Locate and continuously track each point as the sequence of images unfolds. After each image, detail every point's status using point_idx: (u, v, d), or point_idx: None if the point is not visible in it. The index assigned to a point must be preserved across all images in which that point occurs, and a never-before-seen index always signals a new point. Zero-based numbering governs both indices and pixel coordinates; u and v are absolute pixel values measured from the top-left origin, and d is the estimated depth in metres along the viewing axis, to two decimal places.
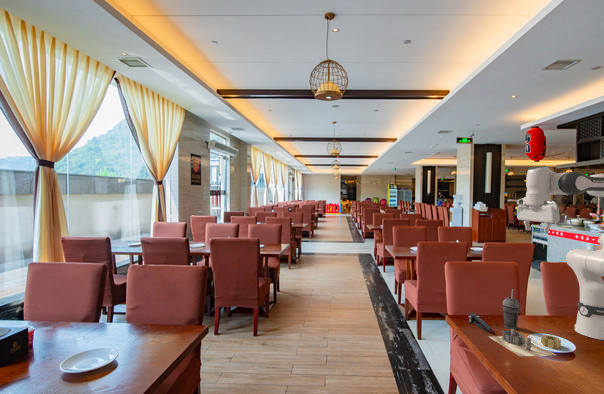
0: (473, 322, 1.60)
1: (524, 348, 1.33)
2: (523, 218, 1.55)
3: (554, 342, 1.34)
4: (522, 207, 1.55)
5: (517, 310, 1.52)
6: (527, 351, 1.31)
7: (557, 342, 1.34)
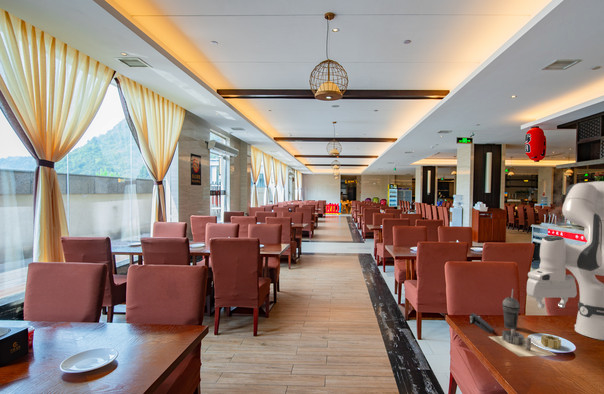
0: (474, 323, 1.59)
1: (524, 348, 1.33)
2: (542, 295, 1.34)
3: (554, 342, 1.34)
4: (543, 283, 1.34)
5: (517, 310, 1.52)
6: (527, 351, 1.31)
7: (557, 342, 1.34)
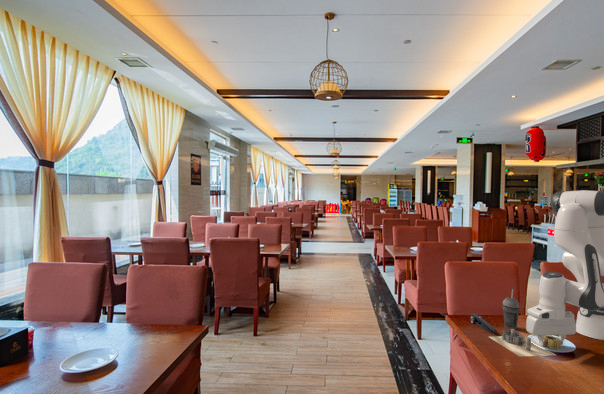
0: (475, 323, 1.58)
1: (524, 348, 1.33)
2: (542, 333, 1.34)
3: (554, 342, 1.34)
4: (543, 321, 1.34)
5: (517, 310, 1.52)
6: (527, 351, 1.31)
7: (557, 342, 1.34)
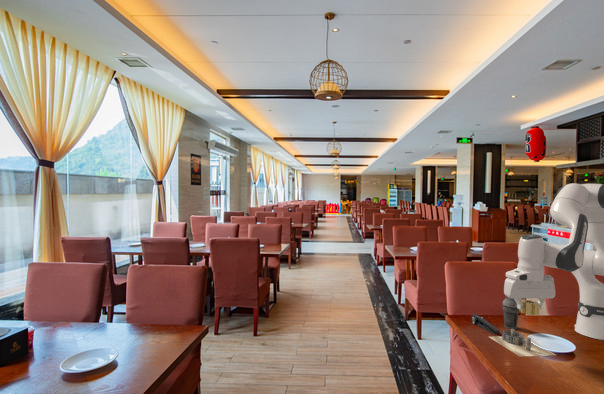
0: (477, 324, 1.58)
1: (524, 348, 1.33)
2: (519, 296, 1.30)
3: (532, 305, 1.30)
4: (520, 283, 1.29)
5: (517, 310, 1.52)
6: (527, 351, 1.31)
7: (535, 305, 1.29)
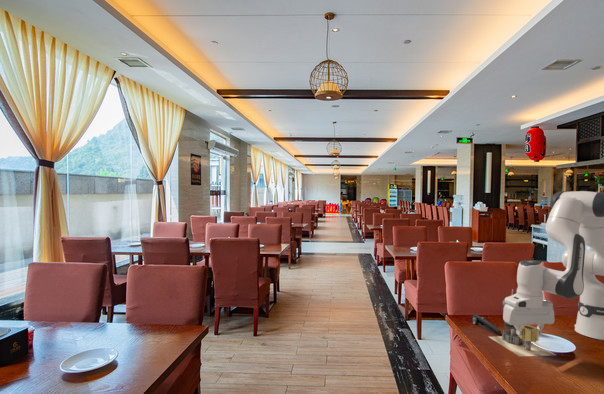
0: (478, 324, 1.57)
1: (524, 348, 1.33)
2: (519, 322, 1.30)
3: (531, 332, 1.30)
4: (520, 310, 1.29)
5: None
6: (527, 351, 1.31)
7: (534, 332, 1.29)
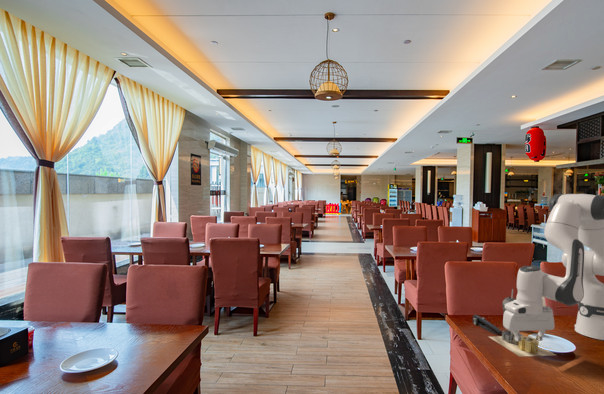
0: (478, 324, 1.57)
1: None
2: (519, 329, 1.30)
3: (531, 343, 1.30)
4: (519, 316, 1.29)
5: None
6: None
7: (534, 343, 1.29)
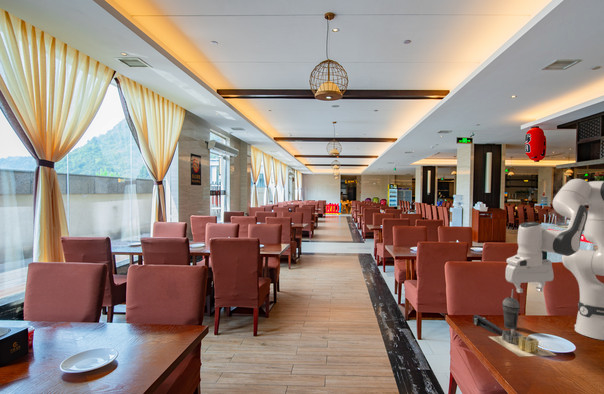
0: (479, 324, 1.57)
1: None
2: (520, 281, 1.38)
3: (531, 343, 1.30)
4: (521, 269, 1.37)
5: (517, 310, 1.52)
6: None
7: (534, 343, 1.29)
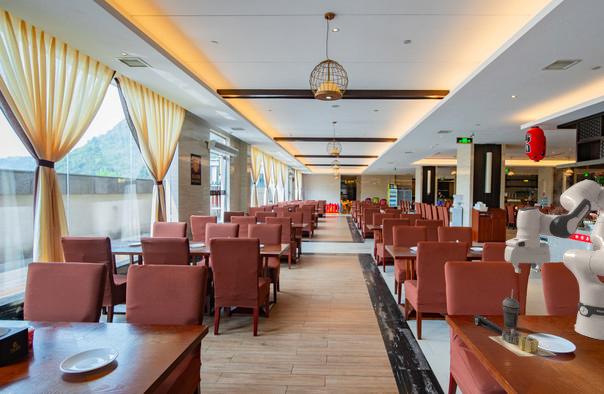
0: (480, 324, 1.57)
1: None
2: (518, 261, 1.46)
3: (531, 343, 1.30)
4: (519, 249, 1.46)
5: (517, 310, 1.52)
6: None
7: (534, 343, 1.29)
